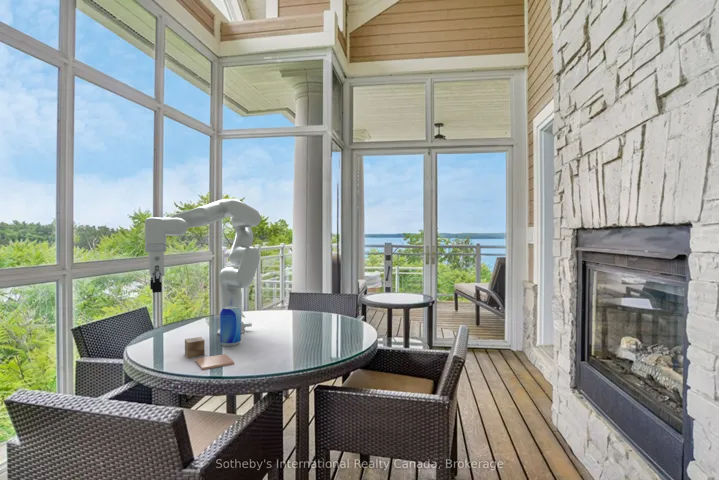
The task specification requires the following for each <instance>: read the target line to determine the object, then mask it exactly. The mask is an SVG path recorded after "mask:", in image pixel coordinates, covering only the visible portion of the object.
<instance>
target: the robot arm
mask: <svg viewBox="0 0 719 480" xmlns="http://www.w3.org/2000/svg"><path fill="white" fill-rule="evenodd" d="M226 218H230V222H231V224H232V225H233V227H234V229H235V237H234V241H233V243H232V244H233V245H232V246H231V250H230V253H229V255H228V256H229V257H228V259H229V262H230V264H233V265H235V266H227V267H224V268H223V269H221V270H220V272H219V275H218V283H219V286H220V287H219V288H220V312H221V311H222V309H223V307H225V306H238V308H239V310H240V311H241V334H244V333H245V332H246V328H249V327H252V325H253V323H252V322H243V321H242V319H243V316H242V314H243V312H242V311H243V306H242V305H243V302H242V300H243V294H242V291H241V289H246V288H249V286H251V285H252V283H253V282H254V281H253V280H254V278H255V276H256V271H257V269H258V267H259V262H260V259H261V258H260V251H259V250H258V249H257V248H256V247H254V246H253V242H254V234H253V233H254V232H253V230H252V228H254V227H257V226H258V225H259V224H260V223H261V221H262V216H261V214H260V212H259V211H258V210H256V209H255V208H253V207H251V206H250V205H248V204H246V203H245V202H243V201H240V200H239V199H236V198H225V199H219V200H216V201H213V202H210V203H208V204H205V205H201V206H198V207H196V208H192V209H189V210H185V211H182V212H178V213H176V214H175V213H174V214H171V215H169V216H166V217H147V218H145V220H144V253H148V272H149V277H150V280H149V284H150V287H149V288H150V290H151V291H152V293H154V294H155V293H162V292H163V291H162V289H163V288H162V277H165V253H166V252H167V236H169V237H170V236H171V237H178V236H179V237H180V236H184V234H186V233H187V232H188V229H190V228H196V227H197V228H198V227H204V226H208V225H210V224H213V223H216V222H218V221H220V220H223V219H226ZM237 266H238V267H237ZM217 334H218V335H219V336H220V328H219V329H218V330H217Z"/></svg>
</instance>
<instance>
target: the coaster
mask: <svg viewBox="0 0 719 480" xmlns="http://www.w3.org/2000/svg"><path fill="white" fill-rule="evenodd" d="M195 363H196V364H197V365H198V367H199V368H200V370H203V371H204V370H209V369H214V368H219V367H225V366H226V367H227V366H229V365H235V361H234V360H233V359H232V358H231V357H230V356H228V355H227V354H226V353H223V354H217V355H211V356H206V357H205V356H204V357H199V358H195Z"/></svg>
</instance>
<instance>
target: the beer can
mask: <svg viewBox="0 0 719 480" xmlns="http://www.w3.org/2000/svg"><path fill="white" fill-rule="evenodd" d="M219 329H220V335H219V338H220V339H219V343H220V344H221V345H222V346H224V347H233V346H237V345H239V344H240V342H241V340H242V333H241V311H240V310H239V308H238V306H225V307H223V309H222V311H221V310H220V314H219Z"/></svg>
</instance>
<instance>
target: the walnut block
mask: <svg viewBox="0 0 719 480" xmlns="http://www.w3.org/2000/svg"><path fill="white" fill-rule="evenodd" d="M205 346H206V345H205V339H204V338H203V337H202V336H197V337H192V338H191V337H190V338H184V355H185V356H186V358H187V359H191V358H196V357H197V358H198V357H203V356H204V357H205V355H206V354H205Z"/></svg>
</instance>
